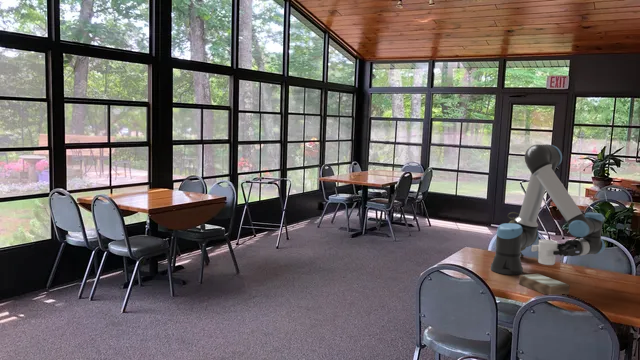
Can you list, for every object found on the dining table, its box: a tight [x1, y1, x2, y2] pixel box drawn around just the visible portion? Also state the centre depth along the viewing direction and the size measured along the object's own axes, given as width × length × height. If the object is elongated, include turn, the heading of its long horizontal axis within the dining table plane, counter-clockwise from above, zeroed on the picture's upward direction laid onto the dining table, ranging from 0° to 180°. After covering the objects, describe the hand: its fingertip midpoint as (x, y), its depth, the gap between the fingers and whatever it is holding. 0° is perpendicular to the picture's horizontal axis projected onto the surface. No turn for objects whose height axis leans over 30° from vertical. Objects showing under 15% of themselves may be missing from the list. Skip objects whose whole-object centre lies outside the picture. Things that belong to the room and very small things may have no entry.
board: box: [518, 273, 571, 295], centre depth 232 cm, size 18×11×4 cm, turn 24°
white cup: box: [537, 238, 559, 266], centre depth 230 cm, size 8×8×10 cm
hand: (539, 250), depth 228 cm, fingers closed on white cup, 8 cm apart
